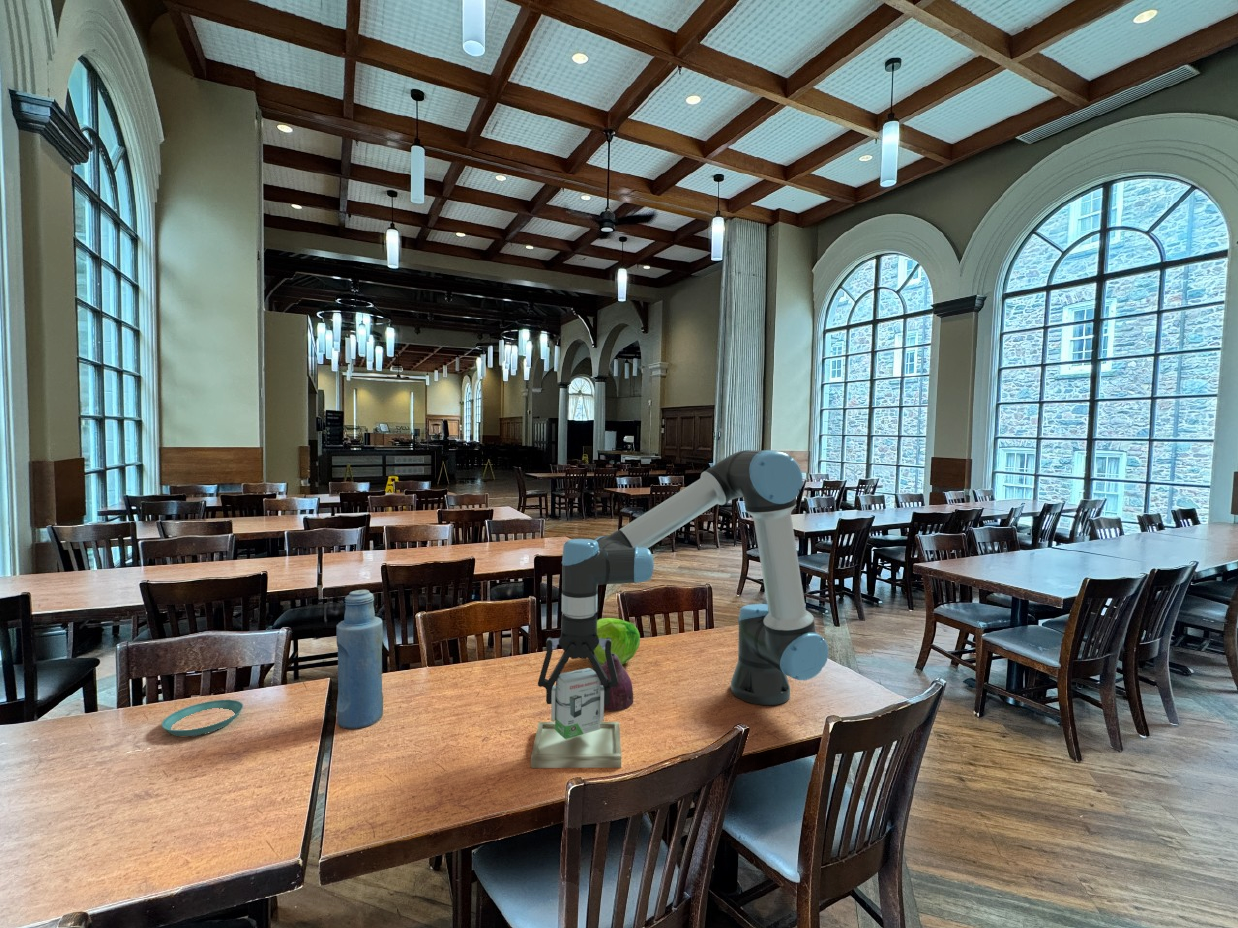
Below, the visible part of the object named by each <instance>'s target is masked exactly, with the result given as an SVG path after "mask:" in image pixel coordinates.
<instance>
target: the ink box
mask: <svg viewBox="0 0 1238 928" xmlns="http://www.w3.org/2000/svg"><path fill="white" fill-rule="evenodd" d="M555 685H556V703H555V721H554V722H555V730H556V731H557V732H558V733H559V734H560V735H561V736H562V737H563V738H564V739H568V738H571V737H575V736H578V735H582V734H585V733H589V732H592V731H596V730H599V729H600V722H601V721H600V691H601V681H600V680H599V678H598V676H597V674H596V672H595V670H594V669H593V668H590V667H587V668H582V669H575V670H572V671H567V672H566V671H565V672H561V673H560V675H559V676H558V678H557V680H556V682H555Z"/></svg>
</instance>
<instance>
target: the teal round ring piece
mask: <svg viewBox="0 0 1238 928" xmlns="http://www.w3.org/2000/svg"><path fill="white" fill-rule="evenodd" d="M212 708H219V709H220V708H223V709H229V710H232V711H233V712H234V713H235V715H234V716H232V717H230V718H229V719H227V720H224V721H222V722H219V723H217V724H214V725H210V726H207V727H203V728H198V729H192V730H171V727H172V725H173V724H175V723H176V722H177V721H179V720H181V719H182V718H184V717H186V716H189V715H191V714H194V713H196V712H200V711H202V710H207V709H212ZM243 709H244V703H242V702H241V701H239V700H235V699H218V700H217V699H216V700H209V701H204V702H201V703H197V704H196V703H195V704H193V705H189V706H187V707H184V708H182V709H180V710H177V711H174V712H173V713H171V714H170V715H168V716H167V717H166V718H164V719H163V720H162V722H161V727H162V729H164V730H165V731H166V732H167V733H169V734H171V735H173V736H175V735H176V736H177V737H179V736H193V737H197V736H196V735H199V736H202V735H201V734H204V735H206V734H205V733H208V732H211V733H213V732H212V731H214V732H216V731H215V730H217V729H219V730H221V729H223V728H225V727H227V726H228V725H230V724H229V723H232V722H233V721H234V720H235V719H237V718H238V716H239V715H240V713H241V711H242V710H243ZM226 725H227V726H226ZM224 726H225V727H224ZM222 727H223V728H222ZM220 728H221V729H220ZM217 731H218V730H217ZM208 734H209V733H208ZM176 736H175V737H176Z"/></svg>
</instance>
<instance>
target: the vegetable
mask: <svg viewBox="0 0 1238 928" xmlns="http://www.w3.org/2000/svg"><path fill="white" fill-rule="evenodd" d="M612 657H613V661H614V665H615V669H616V673H617V677H618V686H617V687H612V688H611V689H610V696H609V704H604V711H609V712H618V711H622V710H626V709H628V708H629V707H630V706H632V705H633V703H634V689H633V683H632V680H631V677H630V675H629V673H628V672H627V670H626V669H625V667H624V666H623V664H621V663H620V661H619V659H618V657H617V656H616V655H615V654H614V653H612ZM601 667H602V669H603V670H604V672H605V674H606V676H607V678H608V680H610V679H611V676H610V672H609V668H608V664H607V660H606V661H605V662H604V663H603V665H601ZM601 685H602V683H601Z"/></svg>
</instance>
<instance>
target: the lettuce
mask: <svg viewBox="0 0 1238 928" xmlns="http://www.w3.org/2000/svg"><path fill="white" fill-rule="evenodd" d="M597 635H598V637H599V638H601V639H606V638H607V637H609V638H611V653H614V654H615V655H616V656H617V657H618V659H619V661H620V663H621V664H622V665H624V664H626V663H627V662H628V661H630V660H631V659H632V658H633V657H634V656H635V654H636V653H637V651H638V650H639V647H640V644H641V643H640V642H641V634H640V632H639V629H638V628H637V627H636V625H635V624H634V623H632V622H630V621H626V620H623V619H620V618H614V617H613V618H612V617H604V618H603V617H602V618H599V619H597ZM594 652H595V655H596V657H597V659H598V661H599V663H600V665H601V666H602V665H603V663H604V662H605V661H606V656H605V650H603V649H602V648H601V645H599V644H598V646H597V647H596V648H595V650H594Z"/></svg>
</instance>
